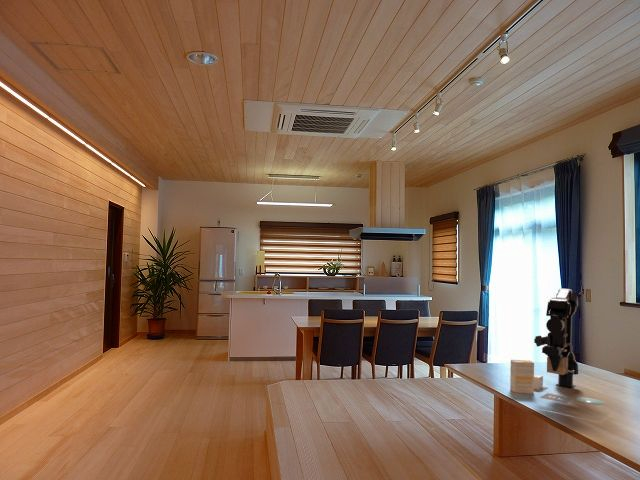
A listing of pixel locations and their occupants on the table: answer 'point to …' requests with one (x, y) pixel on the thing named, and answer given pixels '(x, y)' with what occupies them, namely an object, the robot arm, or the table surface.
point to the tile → (542, 389)
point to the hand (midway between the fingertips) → (557, 370)
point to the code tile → (556, 398)
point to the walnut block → (561, 368)
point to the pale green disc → (590, 401)
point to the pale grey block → (538, 382)
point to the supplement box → (522, 376)
